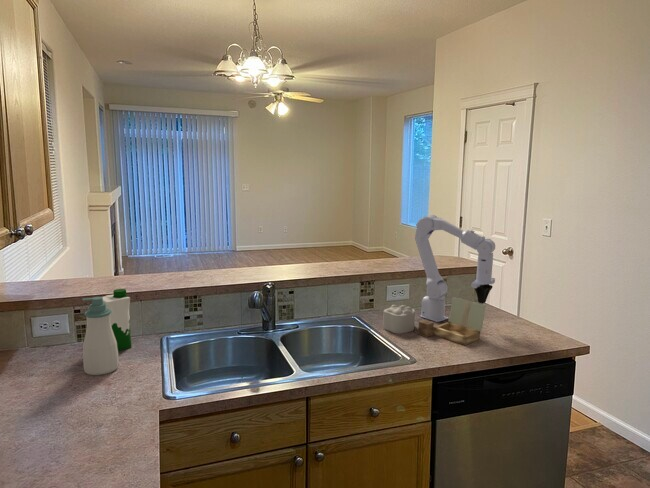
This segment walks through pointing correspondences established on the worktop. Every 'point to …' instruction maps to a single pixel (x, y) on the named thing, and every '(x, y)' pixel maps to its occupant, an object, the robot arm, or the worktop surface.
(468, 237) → the robot arm
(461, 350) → the worktop surface
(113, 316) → the milk carton
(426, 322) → the walnut block
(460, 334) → the box
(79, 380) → the worktop surface
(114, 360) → the soap bottle
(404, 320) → the lumpy-topped squat cylinder
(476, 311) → the lid
